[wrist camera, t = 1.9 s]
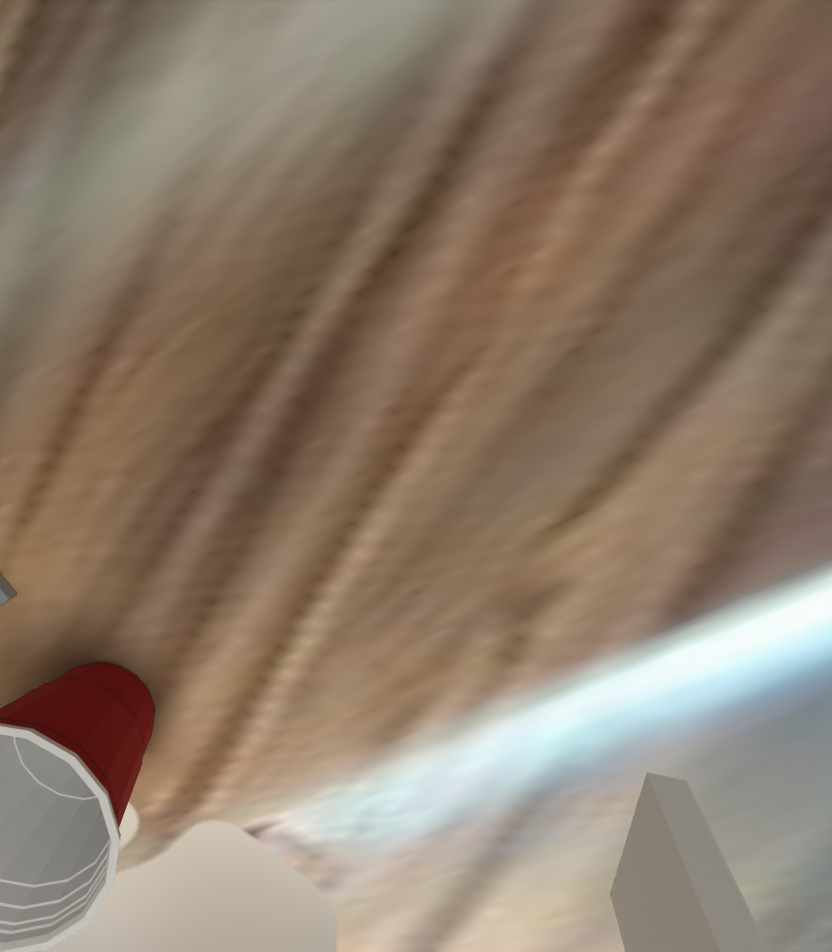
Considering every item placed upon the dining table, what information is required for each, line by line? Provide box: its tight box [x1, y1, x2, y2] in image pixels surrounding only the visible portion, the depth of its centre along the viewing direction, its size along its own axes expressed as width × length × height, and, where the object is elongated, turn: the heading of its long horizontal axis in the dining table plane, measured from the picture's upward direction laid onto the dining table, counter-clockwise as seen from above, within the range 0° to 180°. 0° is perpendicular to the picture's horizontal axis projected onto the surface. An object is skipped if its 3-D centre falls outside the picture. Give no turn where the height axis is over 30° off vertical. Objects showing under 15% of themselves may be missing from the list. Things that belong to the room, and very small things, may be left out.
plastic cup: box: [0, 662, 155, 952], centre depth 39 cm, size 11×11×12 cm
